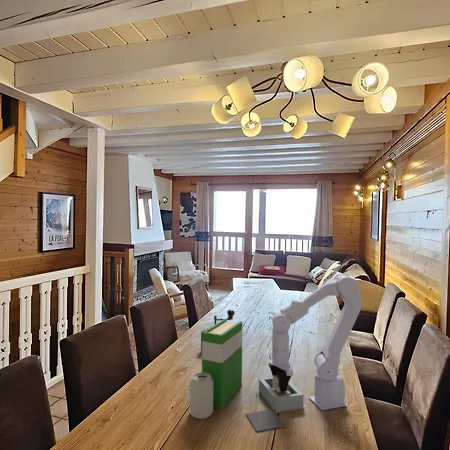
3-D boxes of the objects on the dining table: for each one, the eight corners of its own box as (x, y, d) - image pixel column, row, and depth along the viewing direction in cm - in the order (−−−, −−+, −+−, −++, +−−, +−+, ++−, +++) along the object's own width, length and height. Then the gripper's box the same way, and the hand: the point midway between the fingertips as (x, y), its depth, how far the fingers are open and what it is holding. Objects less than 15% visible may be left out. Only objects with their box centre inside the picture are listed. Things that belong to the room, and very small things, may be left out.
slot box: (284, 388, 122) (284, 375, 122) (303, 408, 109) (303, 394, 109) (258, 391, 119) (259, 378, 119) (275, 412, 106) (275, 398, 106)
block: (282, 385, 116) (283, 373, 116) (288, 390, 112) (288, 379, 112) (272, 386, 115) (272, 375, 115) (277, 392, 111) (277, 380, 111)
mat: (272, 410, 107) (272, 409, 107) (284, 427, 98) (284, 425, 98) (246, 414, 104) (246, 413, 104) (256, 432, 96) (256, 430, 96)
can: (213, 407, 109) (213, 370, 109) (213, 420, 101) (213, 381, 101) (190, 407, 109) (190, 370, 109) (188, 420, 101) (189, 381, 101)
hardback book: (223, 381, 127) (224, 318, 127) (241, 385, 124) (242, 321, 124) (201, 403, 111) (202, 332, 111) (221, 408, 108) (222, 335, 108)
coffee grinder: (220, 356, 151) (220, 316, 151) (200, 351, 157) (200, 313, 157) (236, 345, 164) (236, 309, 164) (217, 341, 170) (217, 306, 170)
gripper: (261, 342, 120) (261, 379, 120) (279, 357, 106) (279, 399, 106) (279, 340, 122) (279, 377, 122) (298, 355, 108) (298, 396, 108)
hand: (280, 387), depth 114 cm, fingers closed on block, 4 cm apart
